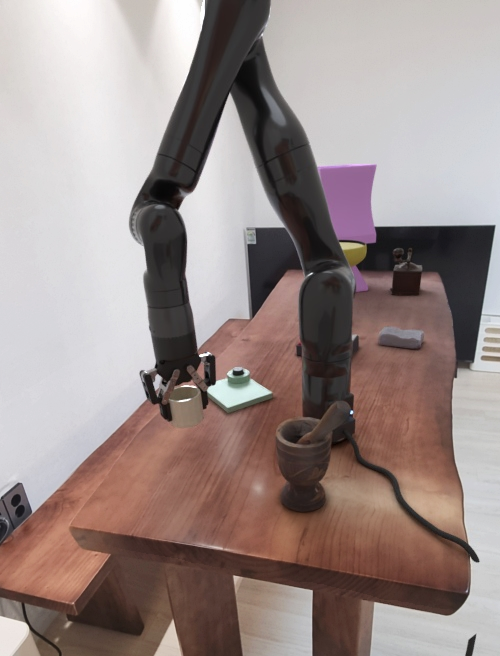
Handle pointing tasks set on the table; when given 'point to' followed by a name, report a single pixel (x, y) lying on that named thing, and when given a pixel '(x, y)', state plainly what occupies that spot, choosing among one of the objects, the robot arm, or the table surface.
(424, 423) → the table surface
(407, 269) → the coffee grinder
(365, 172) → the chair
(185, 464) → the table surface
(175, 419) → the cup
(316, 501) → the mortar and pestle
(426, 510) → the table surface
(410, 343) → the stone block
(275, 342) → the table surface
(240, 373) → the button
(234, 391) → the scale
